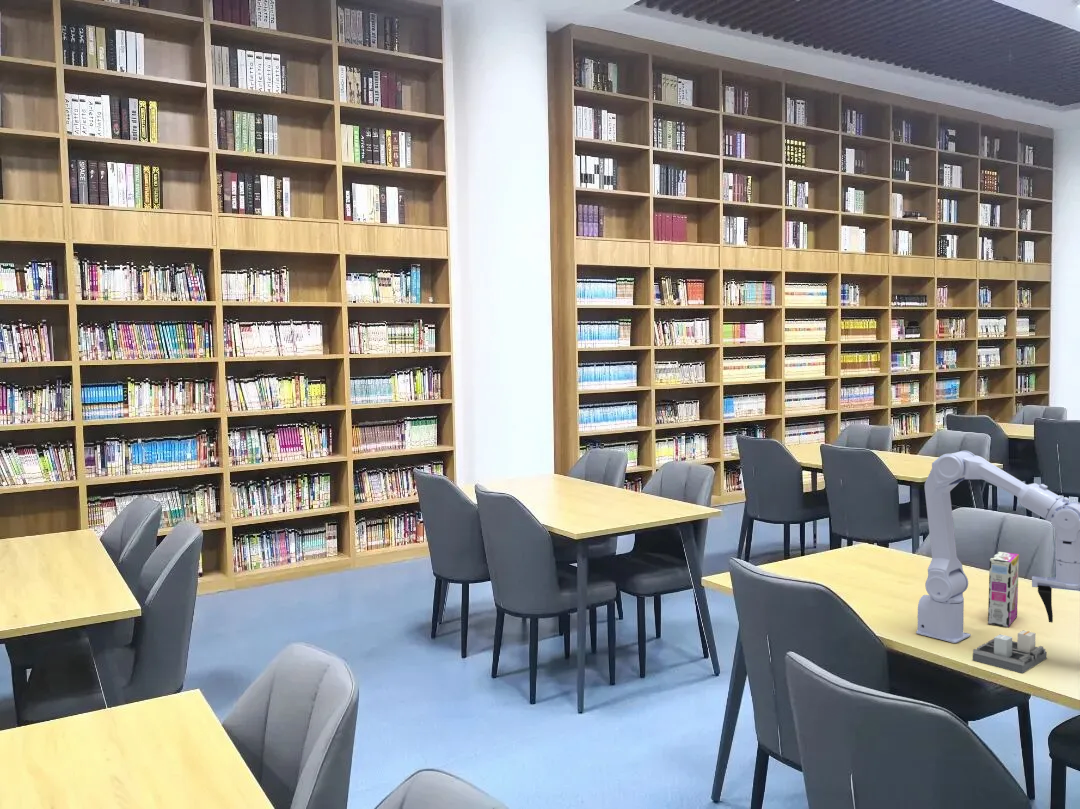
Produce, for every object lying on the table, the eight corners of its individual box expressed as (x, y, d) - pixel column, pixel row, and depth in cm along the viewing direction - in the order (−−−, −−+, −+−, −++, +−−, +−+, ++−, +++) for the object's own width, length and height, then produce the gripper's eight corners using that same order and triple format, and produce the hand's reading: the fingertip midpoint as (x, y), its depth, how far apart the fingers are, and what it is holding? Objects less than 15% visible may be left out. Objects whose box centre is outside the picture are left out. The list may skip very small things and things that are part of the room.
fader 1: (993, 655, 178) (994, 636, 178) (999, 652, 180) (1000, 633, 180) (1006, 658, 176) (1006, 639, 176) (1012, 655, 178) (1012, 636, 178)
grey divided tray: (972, 660, 180) (972, 648, 180) (998, 646, 188) (998, 635, 188) (1022, 673, 172) (1022, 660, 172) (1046, 658, 180) (1046, 646, 180)
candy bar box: (1010, 628, 201) (1011, 561, 200) (987, 624, 204) (988, 559, 203) (1018, 617, 209) (1019, 553, 208) (996, 613, 212) (997, 550, 211)
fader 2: (1017, 651, 180) (1017, 632, 180) (1022, 648, 182) (1023, 629, 182) (1029, 654, 178) (1030, 635, 178) (1035, 651, 180) (1035, 632, 180)
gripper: (1031, 560, 176) (1031, 623, 176) (1113, 567, 168) (1114, 633, 168) (1032, 554, 182) (1032, 615, 182) (1112, 560, 174) (1112, 624, 174)
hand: (1071, 623), depth 176 cm, fingers open, 7 cm apart
